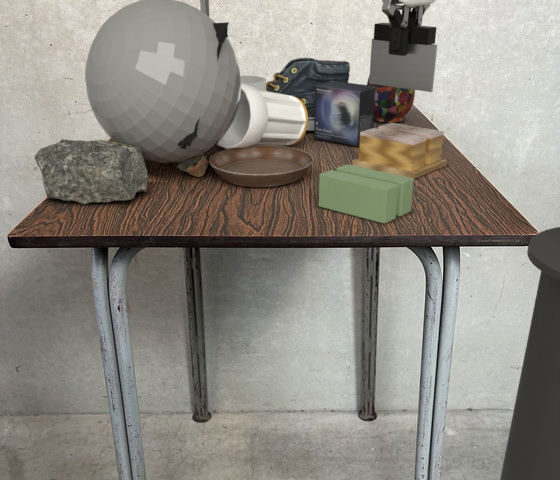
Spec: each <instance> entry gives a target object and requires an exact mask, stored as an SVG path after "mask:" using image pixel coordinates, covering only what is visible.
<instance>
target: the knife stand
mask: <svg viewBox="0 0 560 480" xmlns="http://www.w3.org/2000/svg"><path fill="white" fill-rule="evenodd" d="M318 176H319V177H318V180H319V181H318V183H319V184H318V207H319V208H324V209H327V210H330V211H335V212H339V213H343V214H347V215H350V216H354V217H357V218H361V219H366V220H369V221H372V222H377V223H381V224H384V225H385V224H387V223H389V222H392V221H393V220H395V219H396V218H397V216H398V217H402V216H404V215H407V214H409V213H410V212H412V206H413V205H412V204H413V193H414V183H415V182H414V181H415V179H414V178H409V177H404V176H400V175H395V174H391V173H386V172H381V171H377V170H372V169H367V168H363V167H358V166H353V165H352V164H344V165H342V166H339V167H336V169H335V170H334V169H331V170H327V171H325V172H322V173H319V175H318Z"/></svg>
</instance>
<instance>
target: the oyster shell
mask: <svg viewBox="0 0 560 480" xmlns="http://www.w3.org/2000/svg"><path fill="white" fill-rule="evenodd" d="M206 157H207V156H206V155H205V153H203V154H202V155H200V156H198V157H195V158H193V159H190V160H186V161H182V162H178V165H176V168H177V169H179V170H180V171H183V172H185V173H187V174H188V175H191V176H193V177H196V178H200V177H202V176H204V175H205V174H206V170H207V169H208V167H209V160H208V159H207V158H206Z"/></svg>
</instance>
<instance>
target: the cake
mask: <svg viewBox="0 0 560 480" xmlns="http://www.w3.org/2000/svg"><path fill="white" fill-rule="evenodd" d="M444 133H445V131H443V130H438V129H433V128H427V127H420V126H414V125H409V124H404V123H403V124H402V123H398V122H387V123H385V124H382V125H379V126H378V127H376V128H375V127H373V128H372V129H369V130H365V131H362V132H360V145H359V146H358V147H359V148H358V157H357V158H354V159H352V161H351V165H353V166H358V167H363V168H367V169H372V170H377V171H381V172H386V173H391V174H395V175H400V176H404V177H409V178H414V180H415V179H419V178H420V177H422V176H425V175H427V174H430V173H432V172H435V171H437V170H440V169H442V168H444V167H446V166H447V163H448V159H442V152H443V143H444Z"/></svg>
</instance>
